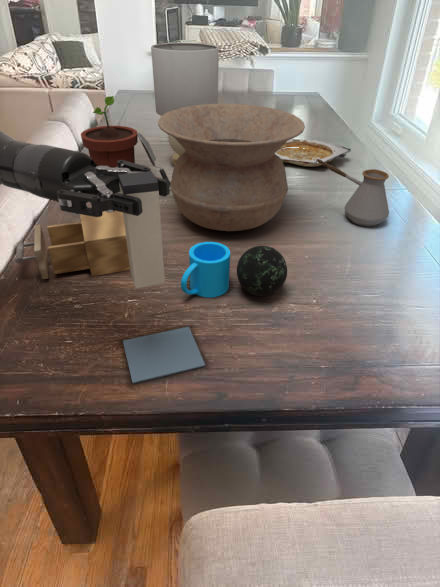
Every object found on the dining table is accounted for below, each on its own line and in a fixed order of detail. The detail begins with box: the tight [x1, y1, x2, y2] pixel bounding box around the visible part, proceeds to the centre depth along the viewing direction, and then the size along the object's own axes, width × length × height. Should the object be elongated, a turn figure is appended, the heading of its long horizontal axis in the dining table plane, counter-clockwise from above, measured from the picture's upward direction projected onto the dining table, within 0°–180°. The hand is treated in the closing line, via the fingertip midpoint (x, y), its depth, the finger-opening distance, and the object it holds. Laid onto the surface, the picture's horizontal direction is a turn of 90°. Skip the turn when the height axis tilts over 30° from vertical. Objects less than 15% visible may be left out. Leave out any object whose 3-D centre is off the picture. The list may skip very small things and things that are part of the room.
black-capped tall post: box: [118, 170, 166, 289], centre depth 58 cm, size 4×4×16 cm
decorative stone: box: [236, 245, 288, 297], centre depth 82 cm, size 10×10×10 cm
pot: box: [157, 103, 306, 232], centre depth 104 cm, size 34×34×25 cm
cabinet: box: [79, 211, 130, 277], centre depth 92 cm, size 15×13×9 cm
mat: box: [122, 326, 206, 385], centre depth 70 cm, size 12×10×1 cm
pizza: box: [275, 138, 352, 168], centre depth 149 cm, size 32×4×23 cm
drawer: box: [15, 221, 90, 280], centre depth 89 cm, size 18×11×7 cm, turn 109°
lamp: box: [150, 41, 220, 167], centre depth 133 cm, size 20×20×35 cm
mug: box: [180, 241, 231, 298], centre depth 83 cm, size 12×8×8 cm
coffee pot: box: [314, 159, 390, 227], centre depth 108 cm, size 21×12×15 cm, turn 74°
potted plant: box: [80, 95, 171, 195], centre depth 118 cm, size 18×22×25 cm
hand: (154, 197), depth 54 cm, fingers closed on black-capped tall post, 6 cm apart
